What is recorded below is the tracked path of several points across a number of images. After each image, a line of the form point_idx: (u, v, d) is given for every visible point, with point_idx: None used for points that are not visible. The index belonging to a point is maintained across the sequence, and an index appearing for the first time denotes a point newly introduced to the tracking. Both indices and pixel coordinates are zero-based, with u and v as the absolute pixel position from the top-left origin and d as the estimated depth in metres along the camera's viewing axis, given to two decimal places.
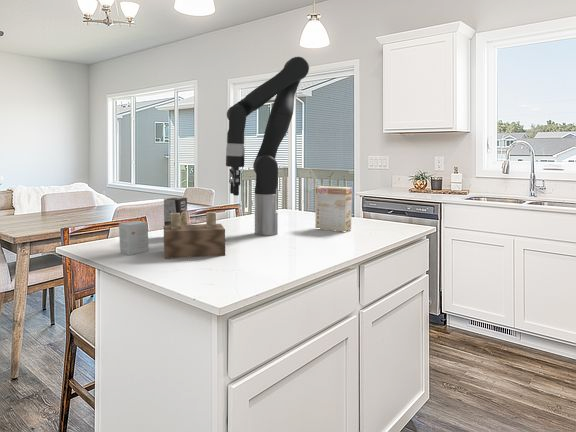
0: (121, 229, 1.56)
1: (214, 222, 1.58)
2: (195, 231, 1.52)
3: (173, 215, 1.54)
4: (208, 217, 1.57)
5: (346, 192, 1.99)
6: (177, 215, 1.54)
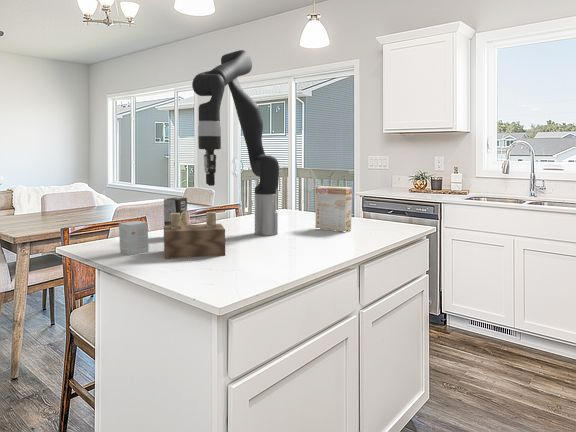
0: (121, 229, 1.56)
1: (214, 222, 1.58)
2: (195, 231, 1.52)
3: (173, 215, 1.54)
4: (208, 217, 1.57)
5: (346, 192, 1.99)
6: (177, 215, 1.54)
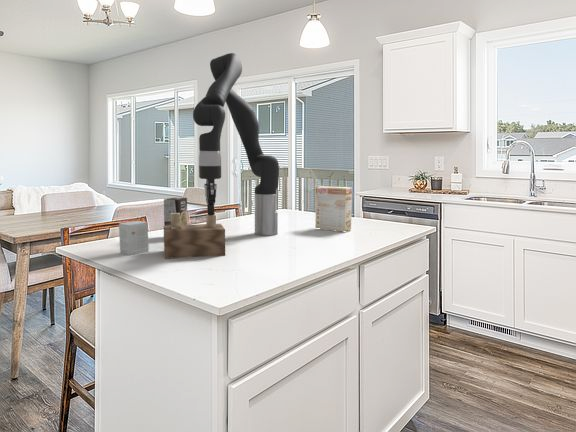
0: (121, 229, 1.56)
1: (214, 224, 1.58)
2: (195, 231, 1.52)
3: (173, 215, 1.54)
4: (208, 220, 1.57)
5: (346, 192, 1.99)
6: (177, 215, 1.54)
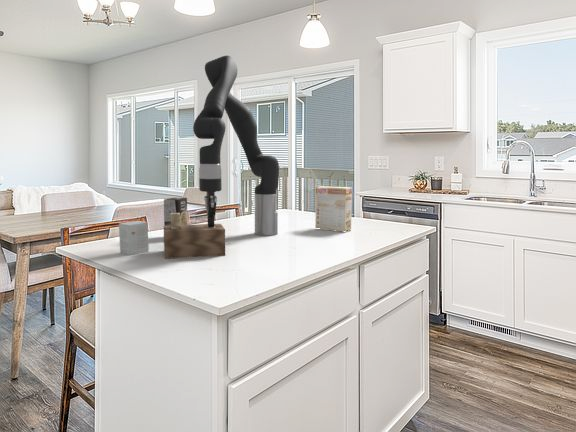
0: (121, 229, 1.56)
1: None
2: (195, 231, 1.52)
3: (173, 215, 1.54)
4: None
5: (346, 192, 1.99)
6: (177, 215, 1.54)
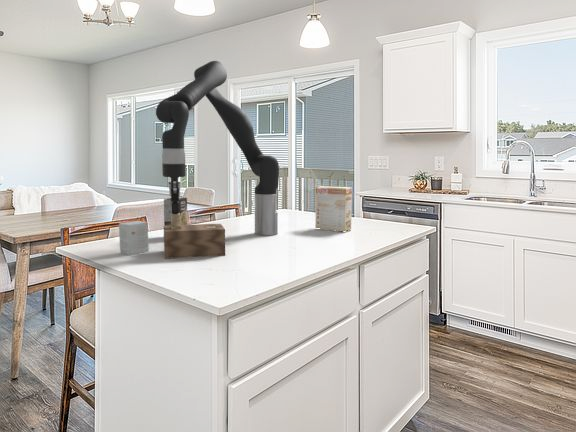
0: (121, 229, 1.56)
1: None
2: (195, 231, 1.52)
3: (173, 215, 1.54)
4: None
5: (346, 192, 1.99)
6: (177, 215, 1.54)
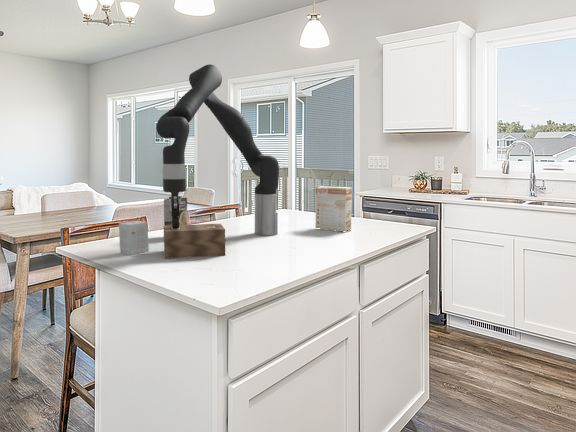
0: (121, 229, 1.56)
1: None
2: (195, 231, 1.52)
3: None
4: None
5: (346, 192, 1.99)
6: None
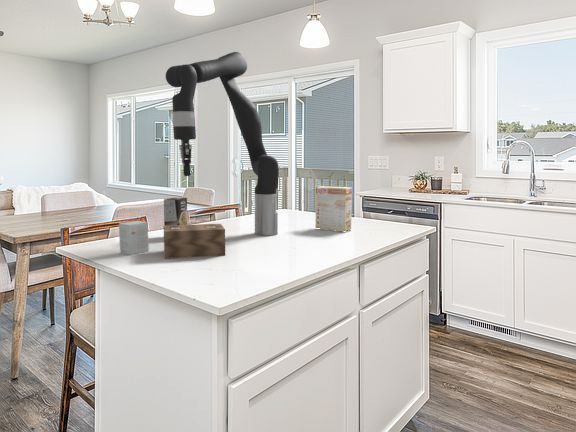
0: (121, 229, 1.56)
1: None
2: (195, 231, 1.52)
3: None
4: None
5: (346, 192, 1.99)
6: None
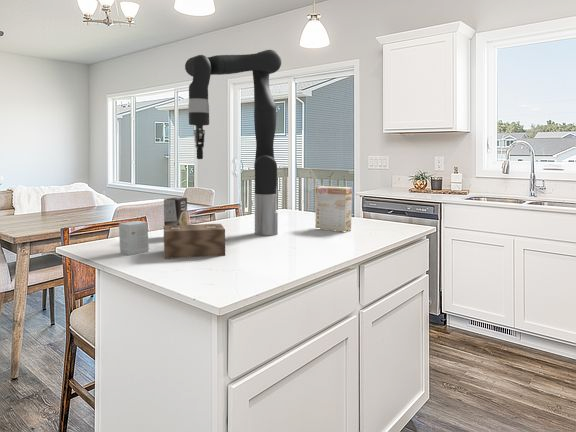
0: (121, 229, 1.56)
1: None
2: (195, 231, 1.52)
3: None
4: None
5: (346, 192, 1.99)
6: None
